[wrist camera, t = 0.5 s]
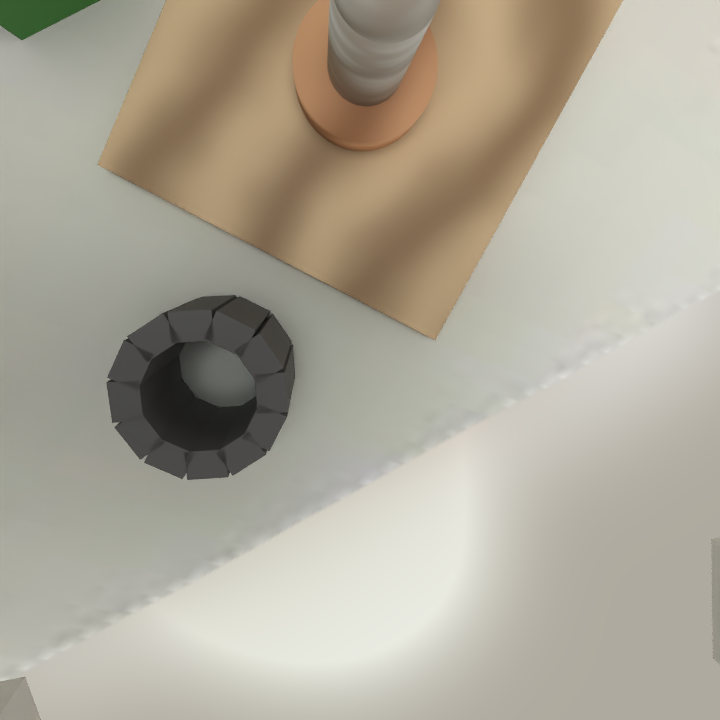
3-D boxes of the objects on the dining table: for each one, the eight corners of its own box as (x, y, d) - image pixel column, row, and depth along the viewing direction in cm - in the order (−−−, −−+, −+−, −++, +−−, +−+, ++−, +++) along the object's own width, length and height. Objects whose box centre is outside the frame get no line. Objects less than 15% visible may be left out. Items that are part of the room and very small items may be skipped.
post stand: (108, 168, 29) (-80, 100, 15) (272, -219, 25) (219, -737, 12) (429, 335, 32) (510, 402, 18) (608, 10, 29) (863, -198, 15)
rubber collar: (133, 393, 31) (81, 435, 24) (190, 271, 30) (151, 278, 23) (258, 450, 32) (241, 504, 26) (317, 335, 31) (316, 360, 24)
